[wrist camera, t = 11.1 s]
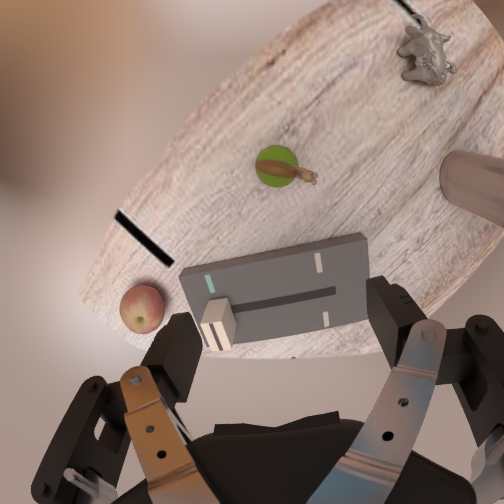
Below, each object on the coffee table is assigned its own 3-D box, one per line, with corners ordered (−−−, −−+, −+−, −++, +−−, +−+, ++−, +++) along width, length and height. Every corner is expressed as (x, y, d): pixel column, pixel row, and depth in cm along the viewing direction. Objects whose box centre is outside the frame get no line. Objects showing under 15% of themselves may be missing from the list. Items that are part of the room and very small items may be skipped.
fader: (227, 297, 40) (221, 321, 34) (236, 323, 42) (231, 349, 36) (208, 300, 40) (199, 324, 35) (218, 326, 42) (211, 351, 36)
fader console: (360, 232, 39) (367, 239, 36) (365, 308, 44) (370, 318, 41) (184, 268, 43) (178, 277, 40) (210, 336, 47) (207, 347, 45)
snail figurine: (299, 188, 37) (312, 206, 26) (253, 181, 37) (247, 196, 26) (306, 150, 35) (322, 152, 24) (259, 142, 35) (255, 140, 24)
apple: (163, 321, 47) (148, 349, 40) (128, 302, 46) (108, 327, 39) (177, 290, 44) (162, 317, 37) (138, 268, 43) (117, 292, 36)
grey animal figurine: (408, 94, 30) (435, 87, 23) (371, 27, 26) (389, 8, 19) (447, 83, 28) (474, 76, 21) (412, 20, 24) (434, 5, 17)
